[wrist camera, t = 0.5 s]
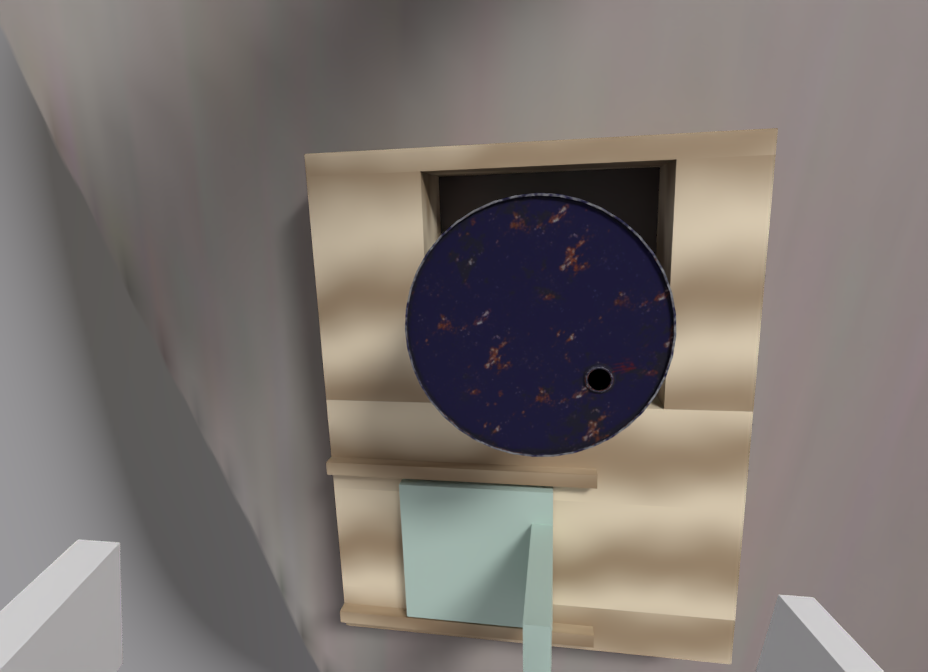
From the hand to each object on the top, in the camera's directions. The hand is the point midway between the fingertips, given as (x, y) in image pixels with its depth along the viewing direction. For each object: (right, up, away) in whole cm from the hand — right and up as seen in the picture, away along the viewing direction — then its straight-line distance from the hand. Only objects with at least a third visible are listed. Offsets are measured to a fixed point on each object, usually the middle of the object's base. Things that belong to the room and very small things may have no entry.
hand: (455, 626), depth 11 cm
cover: (+1, -7, +22) cm, 24 cm away
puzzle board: (+4, +2, +25) cm, 25 cm away
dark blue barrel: (+5, +9, +23) cm, 25 cm away
